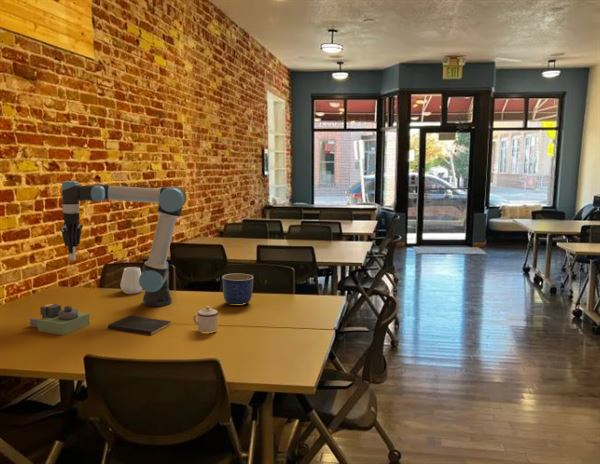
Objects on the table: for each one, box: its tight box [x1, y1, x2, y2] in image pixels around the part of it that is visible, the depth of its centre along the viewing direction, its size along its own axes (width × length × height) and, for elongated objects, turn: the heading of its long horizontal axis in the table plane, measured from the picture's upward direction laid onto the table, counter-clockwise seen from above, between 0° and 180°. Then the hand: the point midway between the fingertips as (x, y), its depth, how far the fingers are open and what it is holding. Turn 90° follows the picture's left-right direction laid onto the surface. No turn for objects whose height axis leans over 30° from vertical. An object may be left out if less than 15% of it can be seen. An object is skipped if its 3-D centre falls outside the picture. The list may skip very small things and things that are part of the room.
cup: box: [119, 266, 143, 295], centre depth 286 cm, size 13×13×14 cm
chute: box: [39, 303, 62, 319], centre depth 224 cm, size 6×7×9 cm
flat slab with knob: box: [29, 305, 90, 336], centre depth 223 cm, size 22×16×10 cm
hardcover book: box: [107, 314, 172, 336], centre depth 227 cm, size 16×23×2 cm
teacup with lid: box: [192, 305, 219, 332], centre depth 224 cm, size 12×9×12 cm
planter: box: [221, 273, 254, 305], centre depth 269 cm, size 17×17×15 cm
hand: (72, 259), depth 245 cm, fingers closed
